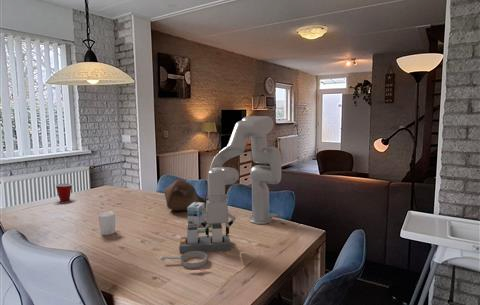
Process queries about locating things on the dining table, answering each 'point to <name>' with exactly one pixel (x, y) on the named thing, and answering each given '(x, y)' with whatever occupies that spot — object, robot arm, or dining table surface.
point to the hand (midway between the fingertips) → (217, 235)
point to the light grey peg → (192, 234)
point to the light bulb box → (195, 213)
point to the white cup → (107, 223)
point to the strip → (205, 244)
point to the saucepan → (189, 255)
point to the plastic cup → (64, 191)
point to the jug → (181, 195)
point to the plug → (216, 233)
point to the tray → (204, 230)
